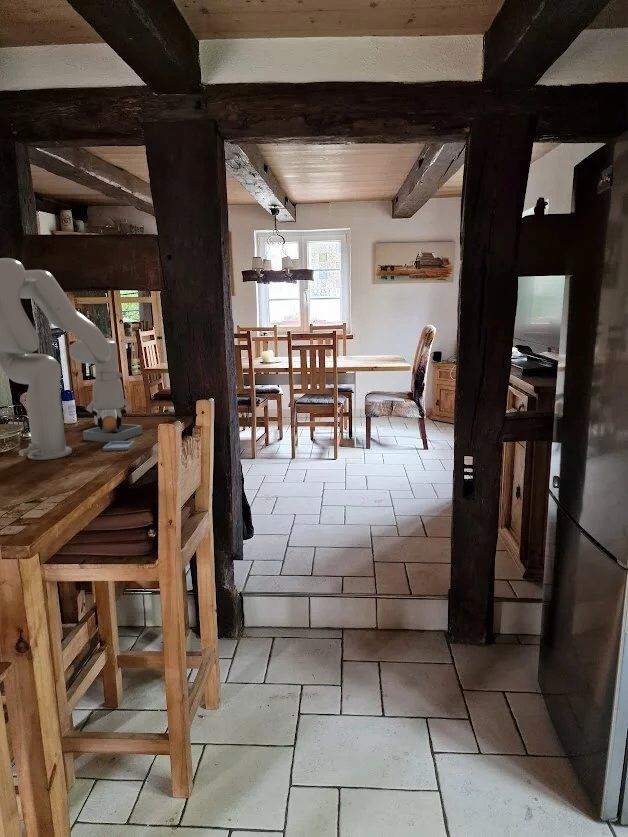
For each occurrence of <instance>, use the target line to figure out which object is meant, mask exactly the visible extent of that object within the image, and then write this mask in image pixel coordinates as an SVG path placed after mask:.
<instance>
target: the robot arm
mask: <svg viewBox="0 0 628 837" xmlns="http://www.w3.org/2000/svg"><path fill="white" fill-rule="evenodd" d="M21 299H25V300H26V299H33V300H34V302H35V303H36V304H37V305H38V307H39V308H40V310H41V311H42V312H43V314H44V315H45V317H46V318H47V320H48V321H49V323H50V324H52V325H53V326H54V327H57V328H58V329H60V330H62V331H64V332H67V333H69V334H71V335H73V336H74V337H76V338H77V339H78V340H76V341H74V342H73V343H71V345H70V346H69V348H68V355H69V356H70V359H72V360H73V361H74V362H76V363H79V364H93V365H94V372H95V373H94V374H95V380H93V381H92V382H93V383H92V394H93V395H92V400H91V401H90V403H89V404H88V405H87V406H86V407H85V409H86V411H87V412H89V413H91V414H92V415H93V416H96V417H97V418H98V425H97V427H100V430H102V429H103V428H102V418H101V413H102V410H110V409H116V412H117V417H116V420H117V428H118V429H119V426H121V424H122V416H124V415H125V413H126V412H128V411H129V410H130V409H132V406H131V405H130V404H129V403H128V401H126V399H124V389H123V383H122V380H121V379H120V378H123V377H124V372H120V371H119V356H118V355H119V353H118V344H117V342H116V341H114V340H107V338H106V337H105V335H104V334H103V333H102V331H101V330H100V328H99V327H98V326H97V325H95V324H94V323H93V322H92V321H91V320H90V319H88V318H87V317H86V316H84V315H83V314H82V313H81V312H79V311H78V310H77V309H76V308H75V307H74V305H73V303H72V302H71V300H70V299H69V297H68V296H67V295H66V293H65V291H64V290H63V289H62V287H61V286H60V284H59V283H58V281H57V280H56V278H55V277H54V275H53V274H52V273H50V272H49V271H47V270H45V269H44V270H43V269H28V270H27V269H25V267H24V265H23V264H22V263H21V262H20V261H19V260H17V259H14V258H10V257H1V258H0V368H1V369H2V371H3V372H4V373H5V375H6V376H7V377H8V379H9V380H11V381H12V382H14V383H16V384H21V385H22V384H23V385H28V388H27V391H26V396H25V397H26V400H25V402H26V409H27V416H28V424H29V425H28V426H29V431H30V440H31V442H30V443H28V447H26V448H23V449H19V451H18V455H19V456H20V457H24V456H27V458H28V459H30V460H36V461H37V460H38V461H45V460H54V459H60V458H63V457H66V456H69V455H70V454H72V453H73V451H72V450H73V449H72V448H71V447H70V446H67V445H66V444H67V443H66V435H65V428H64V427H65V426H64V418H63V411H62V401H61V400H62V399H61V378H62V375H61V374H62V369H61V365H60V363H59V362H58V360H57V359H56V358H54V357H53V356H51V355H49V354H46V353H34V352H35V351H37V350H38V348H39V347H40V338H39V335H38V333H37V331H36V329H35V327H34V325H33V324H32V322H31V320H30V319H29V317H28V315H27V313H26V311H25V309H24V307H23V305H22V302H21ZM93 407H94V409H96V410H98V411H97V412H96V411H95V410H94V409H93Z"/></svg>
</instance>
